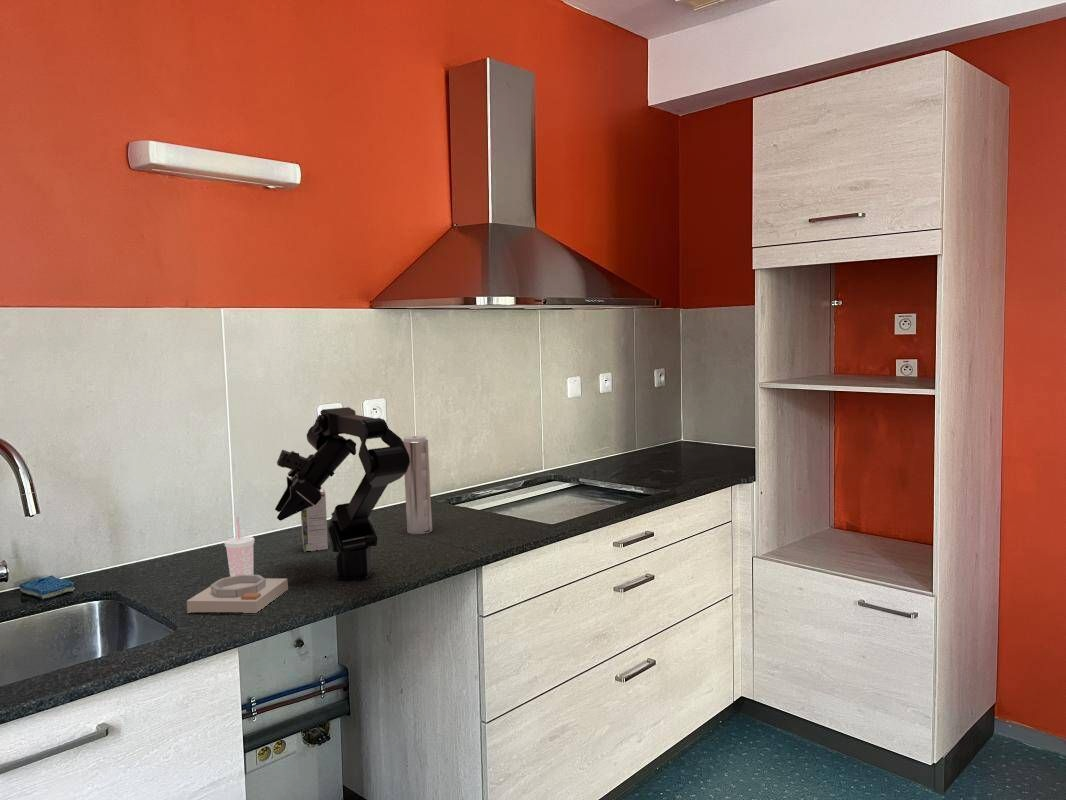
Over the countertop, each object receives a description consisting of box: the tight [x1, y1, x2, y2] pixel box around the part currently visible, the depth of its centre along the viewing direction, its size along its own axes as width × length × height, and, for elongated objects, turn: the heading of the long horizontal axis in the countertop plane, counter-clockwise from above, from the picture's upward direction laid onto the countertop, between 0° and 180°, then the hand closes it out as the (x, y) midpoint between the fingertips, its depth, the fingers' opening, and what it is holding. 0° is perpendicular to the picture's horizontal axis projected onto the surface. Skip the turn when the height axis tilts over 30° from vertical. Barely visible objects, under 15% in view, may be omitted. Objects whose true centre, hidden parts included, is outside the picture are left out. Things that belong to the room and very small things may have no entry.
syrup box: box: [300, 487, 329, 553], centre depth 200 cm, size 6×6×14 cm
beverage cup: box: [223, 516, 255, 577], centre depth 175 cm, size 6×6×14 cm
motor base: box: [186, 574, 289, 614], centre depth 162 cm, size 14×14×4 cm
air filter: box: [402, 435, 433, 535], centre depth 213 cm, size 6×6×25 cm
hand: (277, 514), depth 177 cm, fingers open, 9 cm apart
